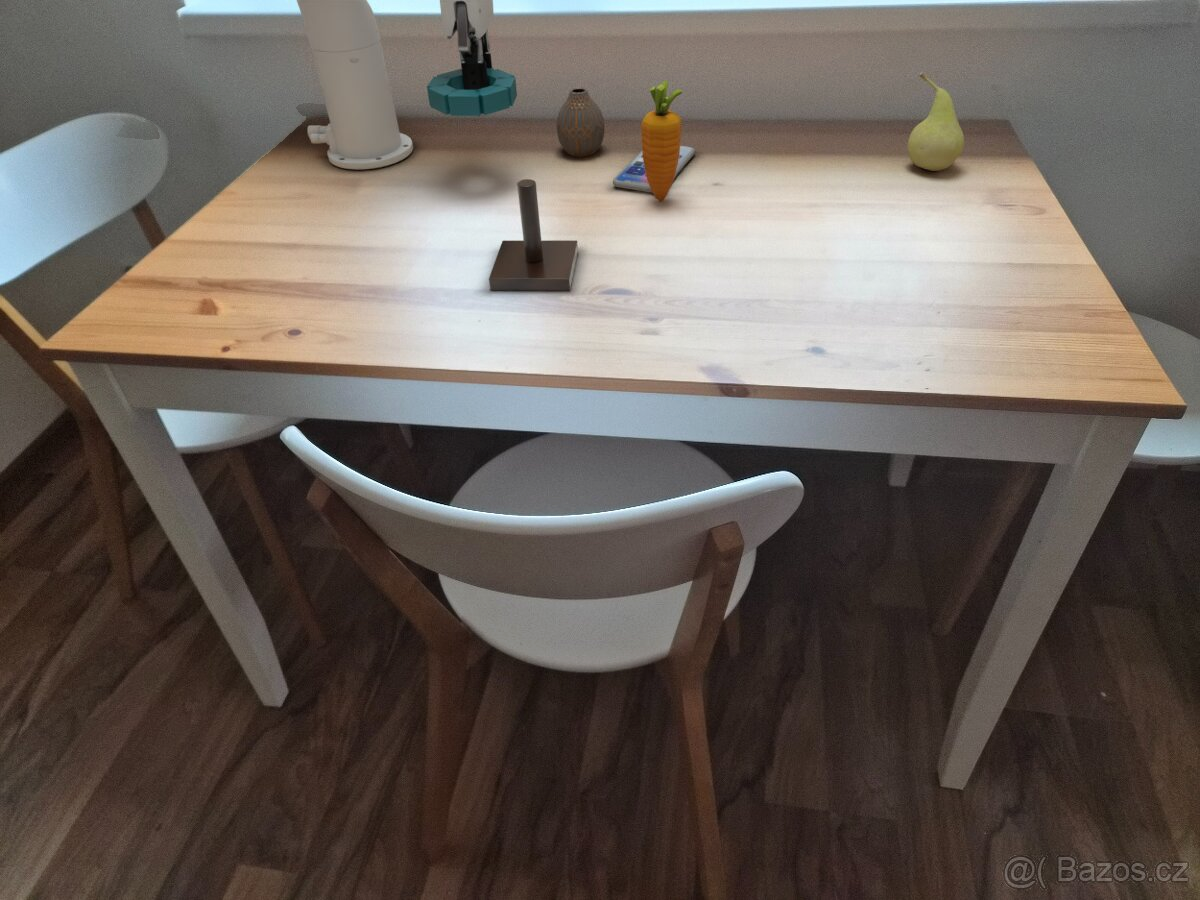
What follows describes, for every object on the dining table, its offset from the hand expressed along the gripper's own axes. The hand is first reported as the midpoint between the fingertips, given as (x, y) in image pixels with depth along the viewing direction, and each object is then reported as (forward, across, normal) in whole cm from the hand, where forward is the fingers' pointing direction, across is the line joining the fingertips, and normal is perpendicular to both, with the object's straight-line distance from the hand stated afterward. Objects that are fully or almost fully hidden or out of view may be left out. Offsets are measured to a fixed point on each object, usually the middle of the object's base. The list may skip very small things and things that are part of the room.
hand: (479, 88), depth 108 cm
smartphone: (+11, 0, +24) cm, 26 cm away
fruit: (+10, 0, +61) cm, 62 cm away
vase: (+11, -6, +13) cm, 18 cm away
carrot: (+11, +10, +25) cm, 29 cm away
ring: (0, +4, 0) cm, 4 cm away
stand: (+11, +28, +11) cm, 32 cm away
